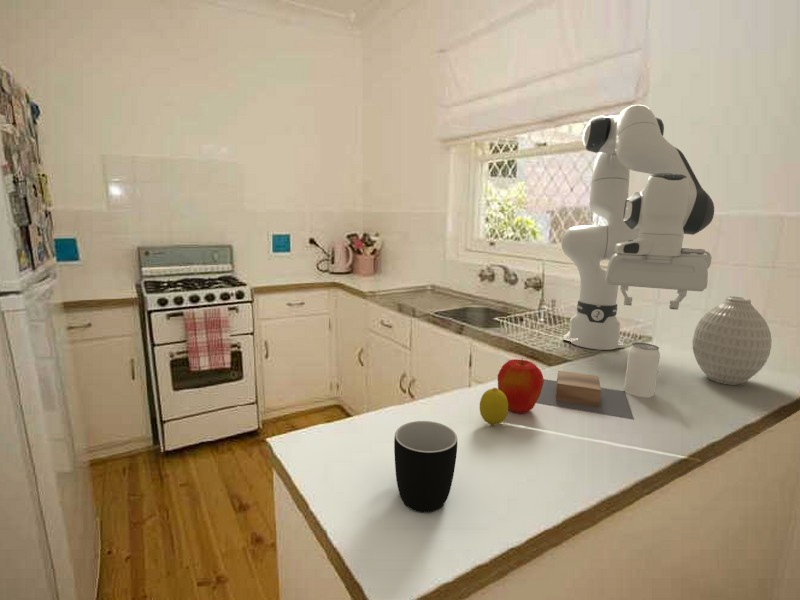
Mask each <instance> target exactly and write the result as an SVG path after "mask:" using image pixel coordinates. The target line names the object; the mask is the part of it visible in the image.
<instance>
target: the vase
mask: <svg viewBox="0 0 800 600" xmlns="http://www.w3.org/2000/svg"><path fill="white" fill-rule="evenodd" d="M693 333H694V334H693V336H692V351H693V355H694V358H695V361H696V362H697V364H698V366H699V368H700V370H701V371H702V372H703V374H705V376H706V377H707V378H708V379H709V380H710V381H712V382H713V381H714V382H716V383H718V384H723V385H731V386H735V385H736V386H737V385H740V384H742V383H745V382H746V381H748V380H750V379H751V378H753V377H754V376H756V374H758V372H760V371H761V370H762V369H763V367H764V366H765V364H766V363H767V361H768V359H769V357H770V354H771V350H772V341H773V340H772V334H771V333H772V332H771V331H770V328H769V324H768V323H767V321H766V319H765V318H764V317H763V315H762V314H761V313H760V312H759V311H758V310H757V309H756V308H755V307H754V306H753V305H752V301H751V299H750V298H748V297H741V296H732V295H731V296H729V295H728V296H726V298H725V300H724V301H723V302H721V303H720V304H717V305H716V306H714V307H713V308H712V309H710V310H709V311H707V312H706V313H705V314H704V315H703V316H702V317H701V318H700V320H699V321H698V323H697V325H696V326H695V329H694V332H693Z"/></svg>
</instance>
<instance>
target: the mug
mask: <svg viewBox="0 0 800 600" xmlns="http://www.w3.org/2000/svg"><path fill="white" fill-rule="evenodd" d="M393 443H394V447H393V449H394V450H393V451H394V467H395V468H394V469H395V477H396V485H397V490H398V494H399V496H400V499H401V501H402V503H403V504H404V505H405V506H406V507H408V508H409V509H411V510H412V511H414V512H417V513H432V512H436V511H438V510H440V509H441V508H442V507H443V506H444V505H445V504H446V501H447V499H448V497H449V495H450V492H451V489H452V488H451V487H452V484H453V480H454V475H455V468H456V462H457V461H456V460H457V452H458V436H457V434H456V432H455V431H454V430H453V429H452V428H451V427H449V426H447V425H445V424H443V423H441V422H440V423H439V422H436V421H430V420H428V421H427V420H417V421H410V422H407V423H405V424H402V425H401V426H400V427H398V428H397V429H396V431H395V433H394V440H393Z"/></svg>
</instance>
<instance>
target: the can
mask: <svg viewBox="0 0 800 600" xmlns="http://www.w3.org/2000/svg"><path fill="white" fill-rule="evenodd" d="M659 349H660V347H659V346H658V345H656V344H653V343H648V342H639V341H638V342H633V343H632V344H631V347H630V348H629V350H628V354H627V364H626V371H625V377H624V385H623V391H625V393H627V394H629V395H632V396H634V397H638V398H639V397H640V398H652V397H654V396H655V391H656V386H657V385H656V384H657V378H658V373H659V364H660V359H661V353H660V351H659Z"/></svg>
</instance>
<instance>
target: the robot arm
mask: <svg viewBox="0 0 800 600" xmlns="http://www.w3.org/2000/svg"><path fill="white" fill-rule="evenodd" d="M664 131H665V125H664V122H663V120H662V119H660V118H658V117H656V116H655V114H654V113H653V111H652V109H651V108H650V107H648V106H646V105H644V104H634V105H633V104H632V105H631V106H628V107H626V108H624V109H623V110H622V111H621V112H620V114H619V115H618V114H617V115H608V116H605V115H597V116H594V117H592V118H591V119H590V120H589V121H588V122H587V124H586V126H585V128H584V129H583V135H582V142H583V146H584V148H585V150H586V151H588V152H592V153H595V154H596V153H598V154H597V156H596V158H595V162H594V166H593V170H592V176H591V183H590V192H589V207H590V209H591V211H592V212H593V213H594V214H596V215H598V216H600V217H602V218H603V219H605V220H606V222H607V225H591V224H590V225H587V224H584V225H577V226H571V227H569V228H567V229H566V230H565V232H564V233H563V236H562V238H561V243H560V244H561V249H562V251H563V253H564V254H565V255H566V257H568V258H569V259H570V260H571V261H572V262H573V263H574V265H575V266H576V268H577V270H578V272H579V276H580V277H579V278H580V289H579V290H580V293H579V299H578V300H577V305H576V311H577V312H576V313H575V314H574V315H573V316H572V317H571V318H570V319H569V323H568V326H570V327H568V332H567V333H566V334H564V336H563V337H562V339H563V338H567V337H569V338H578V340H576V341H573V342H571V344H573V345H574V346H578V347H581V348H585V349H592V350H600V351H601V350H605V351H607V350H608V351H609V350H614V349H623V348H624V347H625V344H624V343H623V342H622V341H621V340H620V330H621V322H620V321H619V319H618V318H617V316H616V315H618V314H617V312H618V304H617V301H618V300H617V298H618V292H619V286H620V292H621V293H622V295H623V297H624V298H623V305H624V306H632V305H633V303H632V302H633V296H632V297H630V296H628V294H627V292H629V291H628V290H629V287H638V288H651V289H661V290H676V291H677V292H676V294H677V296H676V298H675V299H674V300H669V307H668V309H670V310H676V311H677V310H679V306H680V303H681V302H682V301H683V299H684V298H685V297H687V293H688V292H689V291H691V292H703V291H704V290H705V289H707V287H708V281H709V279H708V278H709V276H708V275H709V272H708V269H709V268H710V267H711V263H712V259H713V258H712V255H711V253H710V252H708V251H706V250H705V249H703V248H686V247H685V248H684V247H683V242H684V241H683V240H684V235H693V236H694V235H696V234H698V233H699V232H701V231H703V230H704V229H705V228H706V227H707V228H708V226H709V225H710V224H711V223H712V221H713V219H714V215H715V204H714V202H713V199H712V197H711V196H710V195H709V194H708V193H707V192H706V190H704V188H703V187H702V185H701V184H700V182H699V180H698V178H697V176H696V175H695V173H694V170H693V169H692V167H691V165H690V163H689V162H688V160H687V158H686V157H685V155H684V153H683V152H682V151H681V150H680V149H679V148H677V147H675V146H673V145H672V143H670V142H669V141H668V140H667V139H666V138H665V137H664V133H665V132H664ZM630 171H633V172H638V173H644V174H649V175H650V176H649V177H648V179H647V181H646V184H645V186H644V188H642V189H641V190H640V191H636V192H634V193H633V194H631V195H630V196H629V192H630V191H629V189H630ZM601 261H607V262H608V264H607V267H606V269H604V268H602V266H601V264H600V263H601Z"/></svg>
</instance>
